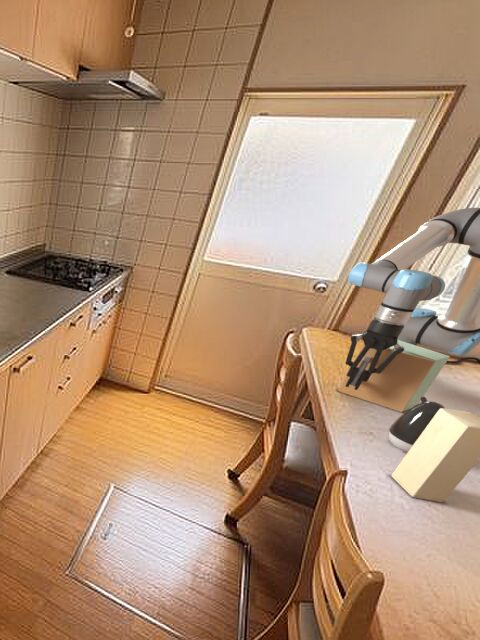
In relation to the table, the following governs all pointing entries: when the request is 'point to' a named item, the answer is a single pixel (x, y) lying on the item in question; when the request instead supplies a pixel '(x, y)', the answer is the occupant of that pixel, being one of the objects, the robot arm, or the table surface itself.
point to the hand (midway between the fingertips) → (351, 386)
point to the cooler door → (389, 379)
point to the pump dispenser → (412, 424)
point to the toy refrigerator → (441, 455)
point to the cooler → (431, 375)
